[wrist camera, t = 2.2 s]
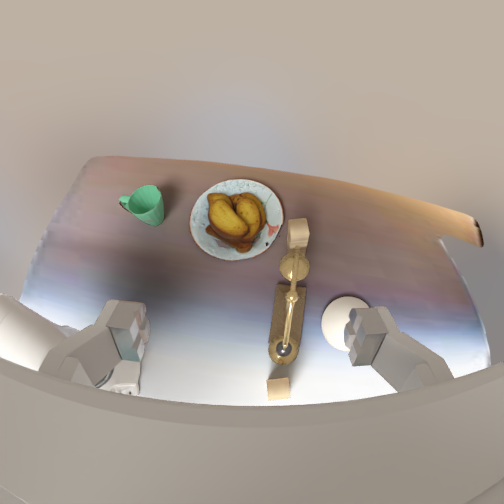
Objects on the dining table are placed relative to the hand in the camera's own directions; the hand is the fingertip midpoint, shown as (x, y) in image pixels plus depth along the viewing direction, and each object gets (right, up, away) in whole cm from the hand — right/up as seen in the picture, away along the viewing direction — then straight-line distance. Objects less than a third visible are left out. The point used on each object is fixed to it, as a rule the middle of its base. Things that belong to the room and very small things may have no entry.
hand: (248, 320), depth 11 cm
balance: (+8, -12, +54) cm, 56 cm away
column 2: (+11, +3, +61) cm, 62 cm away
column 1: (+6, -27, +47) cm, 55 cm away
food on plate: (-4, +11, +67) cm, 68 cm away
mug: (-30, +13, +70) cm, 77 cm away
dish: (+23, -14, +52) cm, 58 cm away
